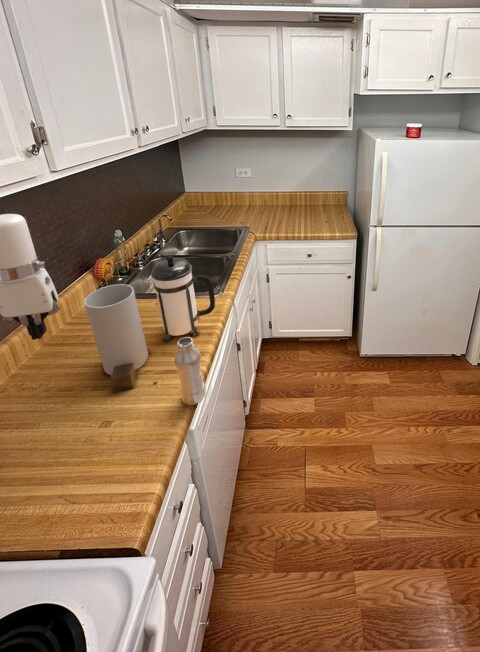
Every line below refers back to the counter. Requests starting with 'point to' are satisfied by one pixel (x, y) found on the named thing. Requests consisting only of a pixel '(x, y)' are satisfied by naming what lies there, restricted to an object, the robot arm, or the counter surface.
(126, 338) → the cylinder vase
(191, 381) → the plastic bottle
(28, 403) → the counter surface
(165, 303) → the coffee press
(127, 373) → the walnut block
